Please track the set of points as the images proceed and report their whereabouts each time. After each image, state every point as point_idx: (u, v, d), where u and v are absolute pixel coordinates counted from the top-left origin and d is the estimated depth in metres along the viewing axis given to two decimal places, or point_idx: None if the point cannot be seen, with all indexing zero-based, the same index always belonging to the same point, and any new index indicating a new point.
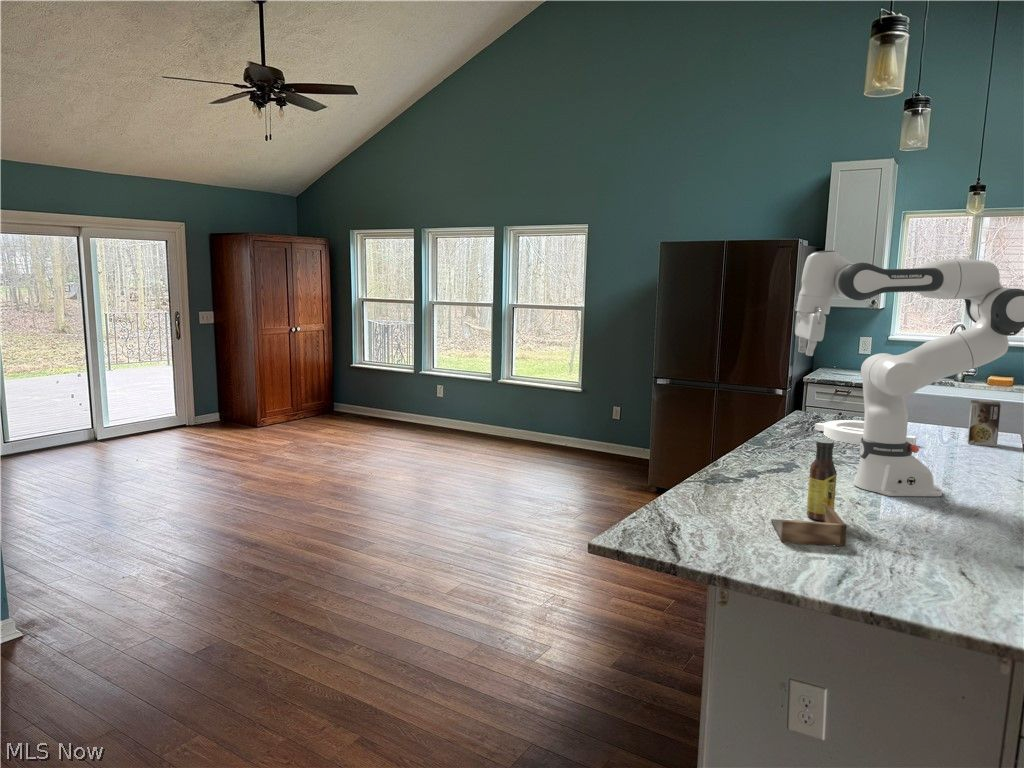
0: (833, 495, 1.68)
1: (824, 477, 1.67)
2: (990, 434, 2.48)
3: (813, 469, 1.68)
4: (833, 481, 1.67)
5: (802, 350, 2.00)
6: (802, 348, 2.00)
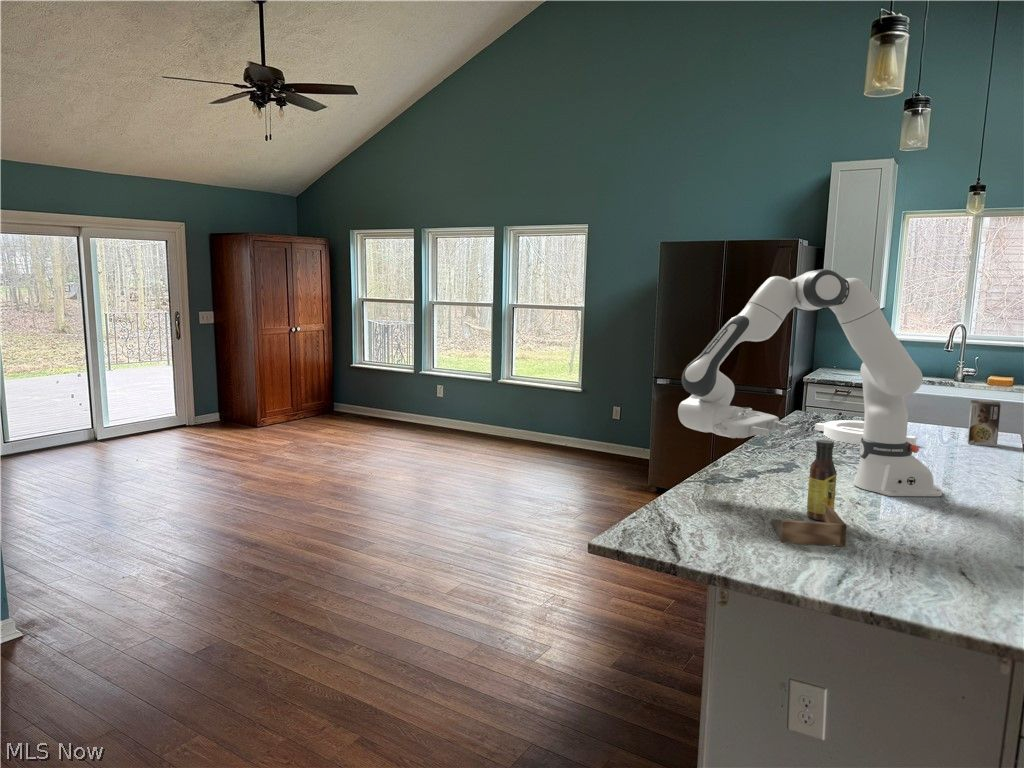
0: (833, 495, 1.68)
1: (824, 477, 1.67)
2: (990, 434, 2.48)
3: (813, 469, 1.68)
4: (833, 481, 1.67)
5: (783, 428, 1.80)
6: (781, 428, 1.81)
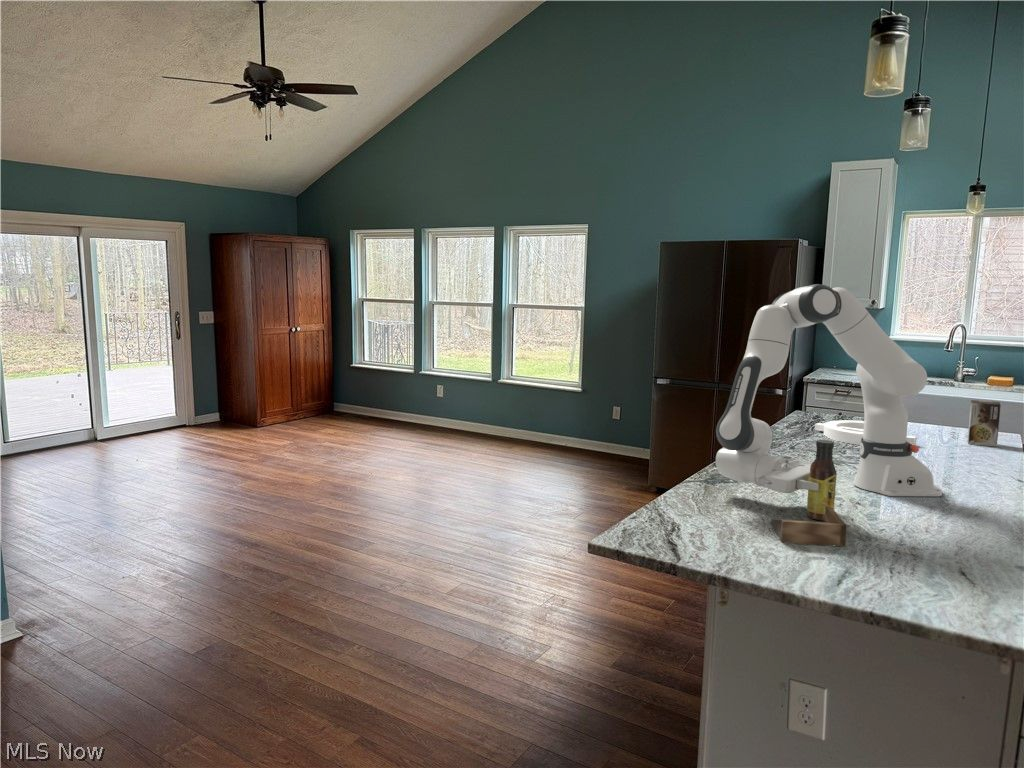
0: (833, 495, 1.68)
1: (824, 477, 1.67)
2: (990, 434, 2.48)
3: (813, 469, 1.68)
4: (833, 481, 1.67)
5: None
6: None
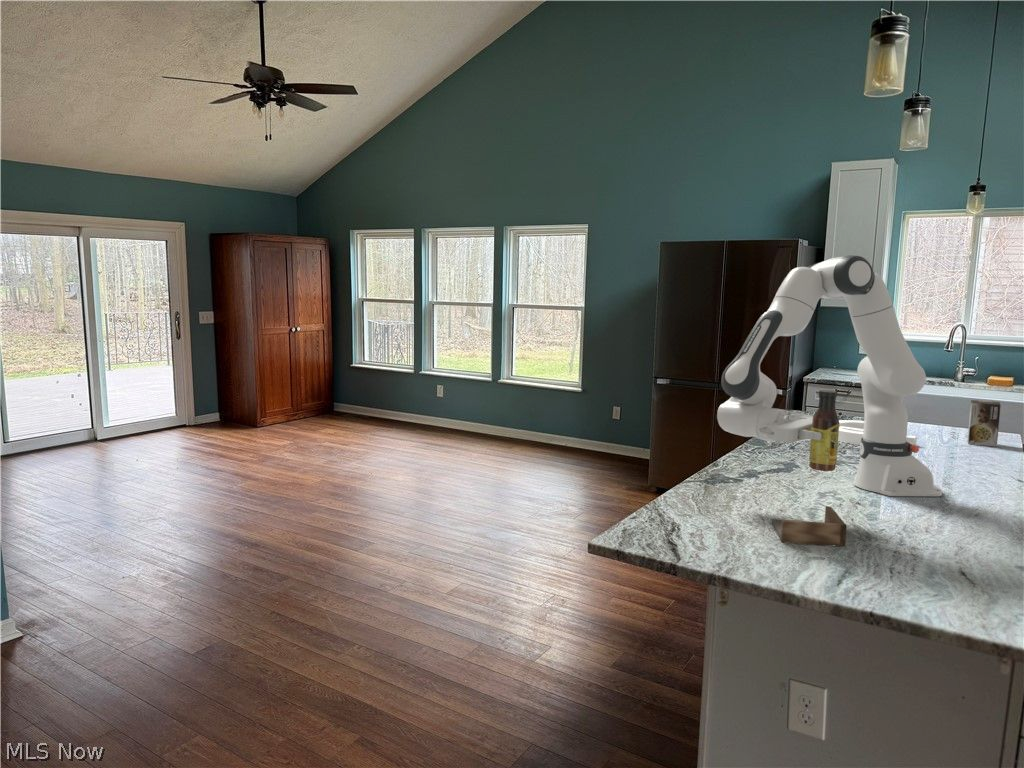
0: (836, 445, 1.66)
1: (827, 426, 1.65)
2: (990, 434, 2.48)
3: (816, 419, 1.66)
4: (835, 431, 1.65)
5: None
6: None
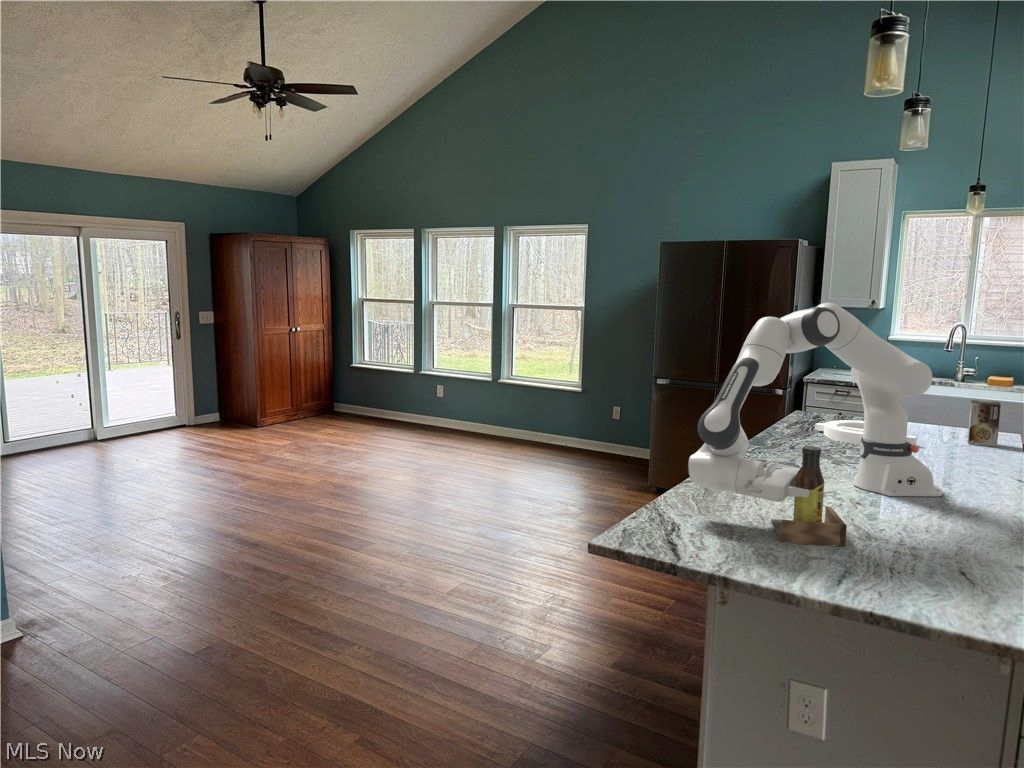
0: (822, 505, 1.57)
1: (813, 486, 1.56)
2: (990, 434, 2.48)
3: (801, 478, 1.57)
4: (822, 490, 1.56)
5: None
6: None
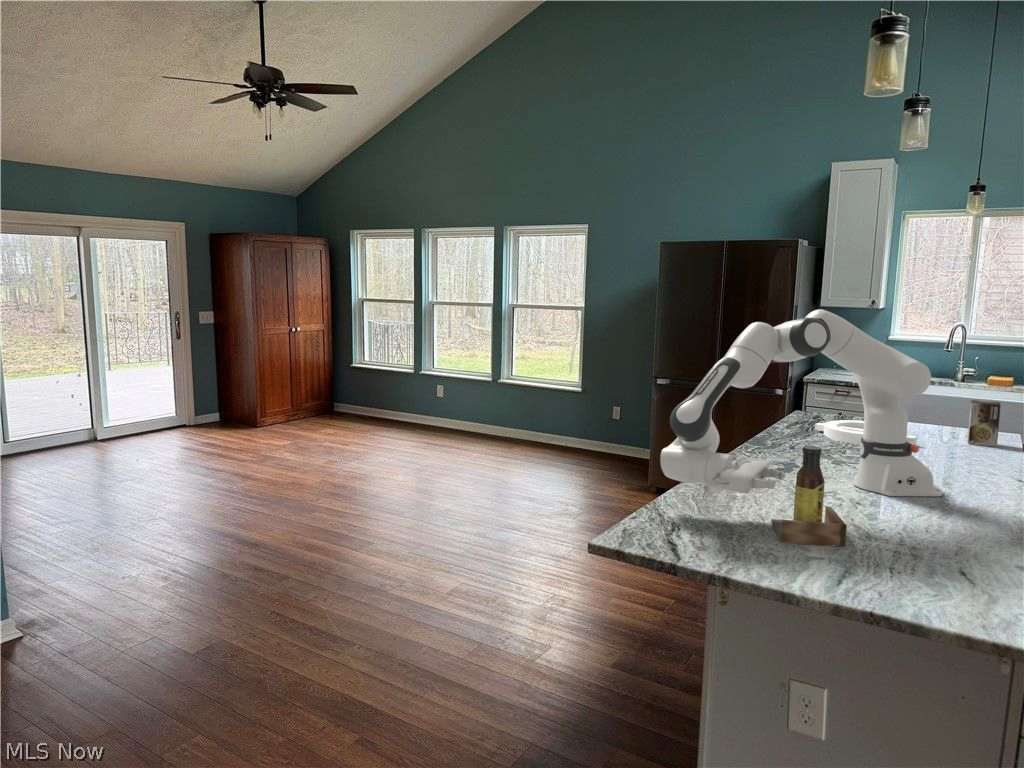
0: (822, 504, 1.57)
1: (814, 486, 1.56)
2: (990, 434, 2.48)
3: (802, 478, 1.57)
4: (822, 490, 1.57)
5: (780, 476, 1.65)
6: (778, 476, 1.65)
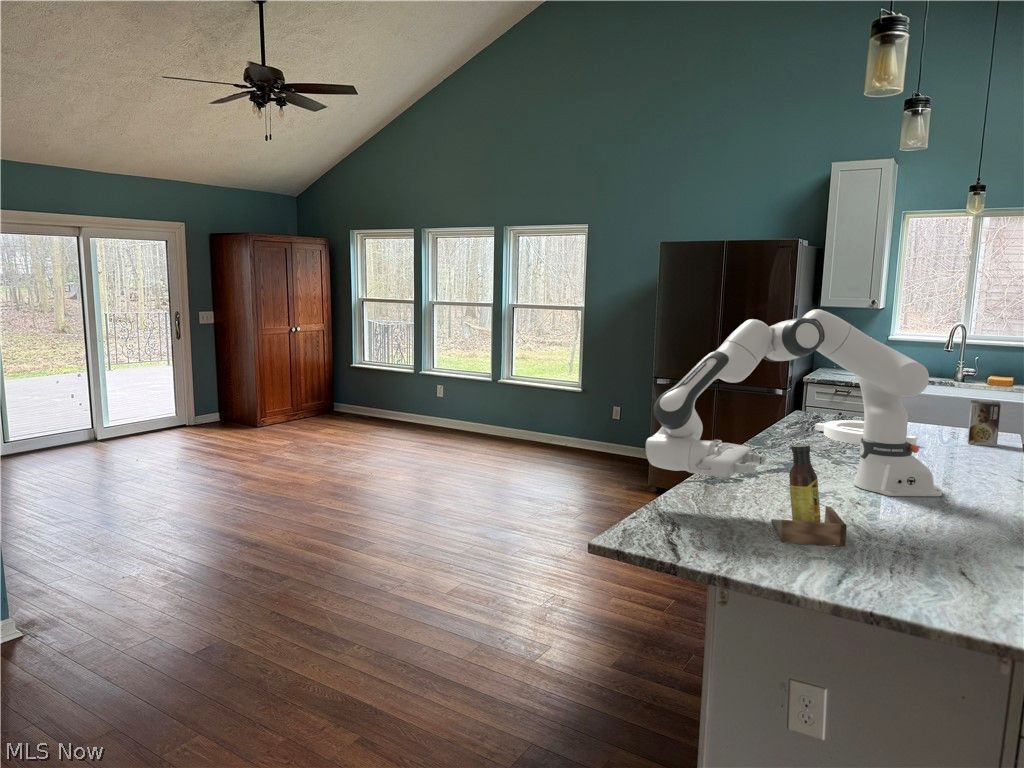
0: (818, 501, 1.58)
1: (807, 483, 1.57)
2: (990, 434, 2.48)
3: (794, 476, 1.58)
4: (816, 486, 1.57)
5: (761, 460, 1.70)
6: (759, 460, 1.71)
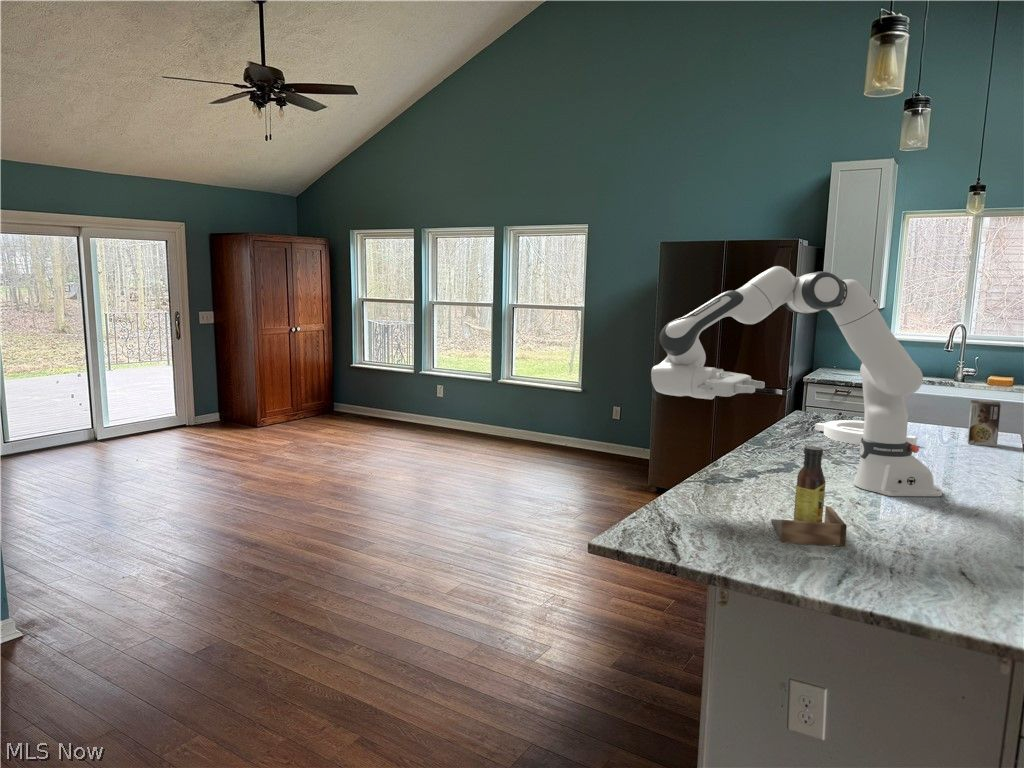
0: (822, 505, 1.57)
1: (815, 486, 1.56)
2: (990, 434, 2.48)
3: (803, 478, 1.57)
4: (823, 490, 1.56)
5: (760, 385, 1.80)
6: (758, 385, 1.81)
